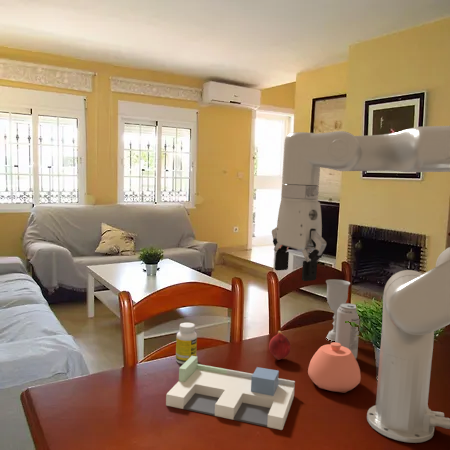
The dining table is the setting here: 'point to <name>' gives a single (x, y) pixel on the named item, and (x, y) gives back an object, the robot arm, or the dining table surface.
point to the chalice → (336, 300)
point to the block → (264, 381)
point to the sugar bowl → (334, 368)
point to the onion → (279, 346)
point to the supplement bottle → (186, 342)
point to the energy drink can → (347, 327)
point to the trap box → (229, 395)
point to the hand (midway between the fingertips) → (294, 274)
